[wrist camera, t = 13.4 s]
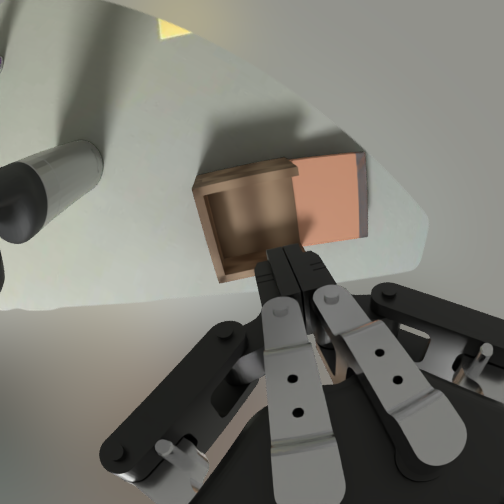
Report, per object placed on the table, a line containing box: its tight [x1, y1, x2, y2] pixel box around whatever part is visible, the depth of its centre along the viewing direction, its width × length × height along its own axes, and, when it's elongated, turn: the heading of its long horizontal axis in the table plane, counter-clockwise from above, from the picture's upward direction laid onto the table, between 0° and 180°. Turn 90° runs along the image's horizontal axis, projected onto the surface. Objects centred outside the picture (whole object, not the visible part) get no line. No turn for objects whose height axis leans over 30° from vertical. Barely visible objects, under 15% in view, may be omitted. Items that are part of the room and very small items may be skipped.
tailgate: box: [289, 152, 368, 246], centre depth 43 cm, size 1×15×12 cm
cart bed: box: [192, 157, 306, 283], centre depth 42 cm, size 14×15×8 cm
